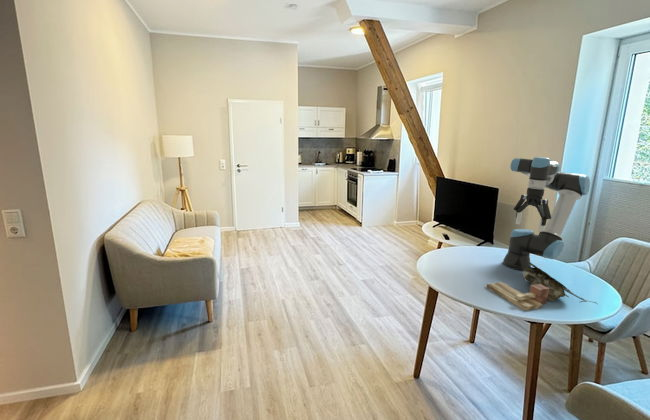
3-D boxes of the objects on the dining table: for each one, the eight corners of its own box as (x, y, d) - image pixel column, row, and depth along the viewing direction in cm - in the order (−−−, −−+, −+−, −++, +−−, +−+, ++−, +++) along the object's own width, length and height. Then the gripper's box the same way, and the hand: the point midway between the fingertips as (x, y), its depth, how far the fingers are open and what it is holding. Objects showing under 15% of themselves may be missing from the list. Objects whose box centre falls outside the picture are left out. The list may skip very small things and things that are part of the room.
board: (501, 285, 181) (501, 281, 180) (541, 307, 159) (542, 303, 158) (486, 287, 178) (486, 284, 177) (525, 310, 156) (526, 306, 155)
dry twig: (545, 284, 186) (545, 281, 185) (562, 284, 187) (563, 281, 186) (580, 306, 162) (581, 303, 162) (600, 306, 163) (601, 303, 163)
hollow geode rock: (524, 286, 192) (508, 267, 190) (543, 272, 189) (527, 253, 188) (553, 310, 164) (535, 288, 163) (576, 295, 162) (558, 272, 160)
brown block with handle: (537, 298, 168) (540, 283, 166) (546, 303, 163) (549, 288, 161) (511, 302, 163) (514, 287, 161) (519, 307, 158) (522, 292, 156)
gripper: (510, 184, 182) (504, 221, 187) (553, 192, 159) (545, 235, 164) (521, 183, 185) (514, 221, 190) (565, 192, 162) (556, 234, 167)
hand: (528, 227), depth 177 cm, fingers open, 13 cm apart
